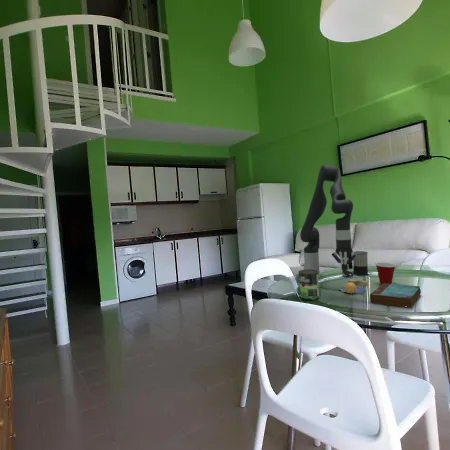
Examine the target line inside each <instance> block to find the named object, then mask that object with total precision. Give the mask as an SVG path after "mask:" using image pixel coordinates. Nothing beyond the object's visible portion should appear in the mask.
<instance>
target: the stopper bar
mask: <svg viewBox="0 0 450 450" xmlns="http://www.w3.org/2000/svg"><path fill="white" fill-rule="evenodd" d="M349 282H352V283H354V284H355V285H356V287H367V286H368V281H367V280H357V279H348V280H347V283H349Z"/></svg>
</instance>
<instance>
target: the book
mask: <svg viewBox="0 0 450 450" xmlns="http://www.w3.org/2000/svg"><path fill="white" fill-rule="evenodd" d="M420 288H421V286H420V285H410V284H408V285H407V284H399V283H398V284H397V283H392V284H386V283H383V284H382V285H381V284H380V286H379V287H377V288H376V289H375V290H374V291H372V292H371V293H370V295H369V297H370V303H371V304H373V303H374V304H379V303H381V304H380V305H386V306H387V305H388V306H393V307H400V306H407V307H411V306H412V307H413V305H414V304H415V303H416V301H417V300H418V299H419V298H420V296H421V294H422V293H421V289H420ZM407 307H406V308H407ZM412 307H411V308H412Z"/></svg>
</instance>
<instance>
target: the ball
mask: <svg viewBox="0 0 450 450" xmlns="http://www.w3.org/2000/svg"><path fill="white" fill-rule="evenodd" d="M344 287H345V291H346V292H347V293H346V294H349V293H350V295H351V294H352V293H354V292H355V291H356V289H357V288H356V287H357V285H355V284H354V283H352V282H349V283H348V282H347V283H345V285H344ZM352 295H353V294H352Z"/></svg>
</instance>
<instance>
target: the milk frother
mask: <svg viewBox="0 0 450 450" xmlns="http://www.w3.org/2000/svg"><path fill="white" fill-rule="evenodd" d="M353 252H354V253H356V254H357V256H356V257H355V258H354V259H353V261H352V262H351V263H349V264H348V270H347V271H343V270H342V269H341V271H342V272H341V273H342V274H343V275H345V276H346V277H347V278H348V277H354V276H359V277H360V276H361V277H364V276H365V277H366V276H369V272H368V271H369V268H368V254H369V253H368V251H363V250H362V251H361V250H355V251H353ZM351 255H352V254H351ZM351 255H350V256H349V257H348V261H349V260H350V259H351V257H352V256H351ZM349 270H353V272H352V271H349Z"/></svg>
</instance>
